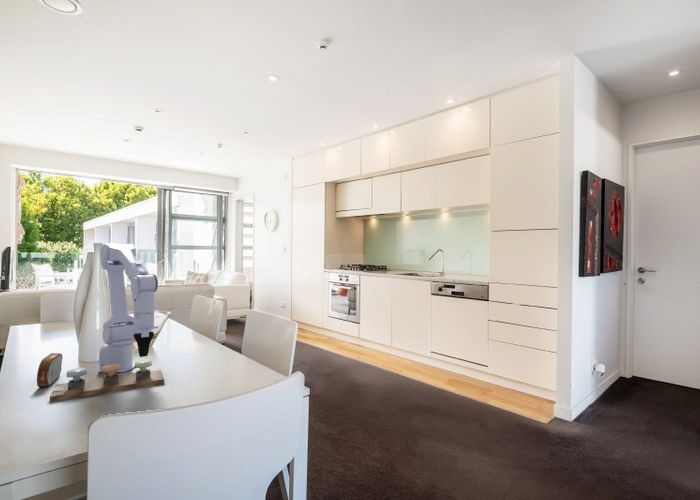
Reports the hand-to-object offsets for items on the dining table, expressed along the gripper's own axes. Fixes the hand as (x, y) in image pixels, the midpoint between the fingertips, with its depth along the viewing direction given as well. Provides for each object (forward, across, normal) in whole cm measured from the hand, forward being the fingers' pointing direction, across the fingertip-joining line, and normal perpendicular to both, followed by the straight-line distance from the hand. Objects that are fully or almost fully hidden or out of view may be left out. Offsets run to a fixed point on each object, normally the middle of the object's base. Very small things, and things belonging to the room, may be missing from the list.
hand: (143, 356), depth 118 cm
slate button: (+5, 0, +17) cm, 18 cm away
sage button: (+5, 0, 0) cm, 5 cm away
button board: (+8, 0, +8) cm, 12 cm away
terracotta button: (+5, 0, +8) cm, 10 cm away
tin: (+8, +14, +25) cm, 30 cm away
